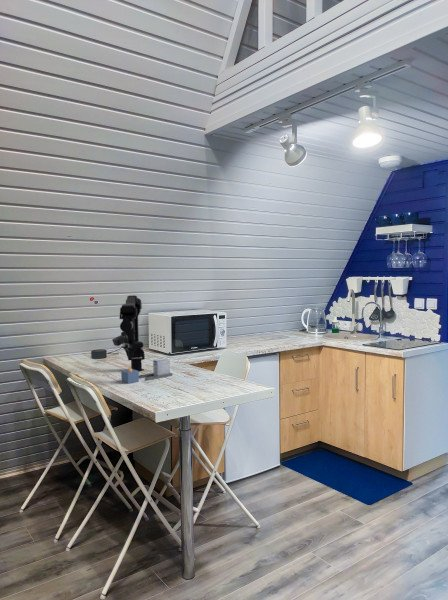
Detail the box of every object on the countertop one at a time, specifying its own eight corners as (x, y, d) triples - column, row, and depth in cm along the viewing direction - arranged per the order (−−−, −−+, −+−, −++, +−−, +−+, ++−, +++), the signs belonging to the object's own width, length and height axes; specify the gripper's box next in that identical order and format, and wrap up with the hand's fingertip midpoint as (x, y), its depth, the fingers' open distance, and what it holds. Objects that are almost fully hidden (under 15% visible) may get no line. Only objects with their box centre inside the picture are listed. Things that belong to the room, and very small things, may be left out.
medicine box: (165, 373, 245) (165, 358, 245) (170, 375, 242) (169, 359, 241) (153, 376, 240) (152, 360, 240) (157, 377, 237) (157, 361, 236)
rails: (138, 377, 236) (138, 375, 236) (163, 373, 247) (163, 371, 247) (146, 380, 230) (146, 378, 230) (172, 375, 240) (172, 373, 240)
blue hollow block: (121, 381, 229) (121, 370, 229) (132, 379, 233) (131, 368, 233) (128, 383, 224) (127, 372, 224) (138, 381, 228) (138, 370, 228)
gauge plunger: (127, 376, 229) (126, 369, 228) (130, 376, 230) (130, 368, 230) (129, 377, 227) (128, 369, 227) (133, 376, 228) (132, 369, 228)
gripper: (105, 329, 229) (106, 360, 230) (123, 332, 215) (124, 365, 216) (125, 327, 236) (126, 357, 237) (143, 330, 222) (144, 361, 223)
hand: (129, 360), depth 228 cm, fingers closed
